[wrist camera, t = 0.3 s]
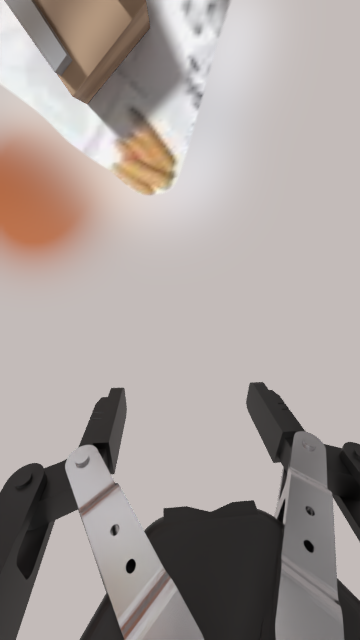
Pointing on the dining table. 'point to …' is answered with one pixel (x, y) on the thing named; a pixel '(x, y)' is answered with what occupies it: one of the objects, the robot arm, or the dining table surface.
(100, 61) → the display plinth
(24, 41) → the dining table surface
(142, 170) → the dining table surface
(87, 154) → the dining table surface
